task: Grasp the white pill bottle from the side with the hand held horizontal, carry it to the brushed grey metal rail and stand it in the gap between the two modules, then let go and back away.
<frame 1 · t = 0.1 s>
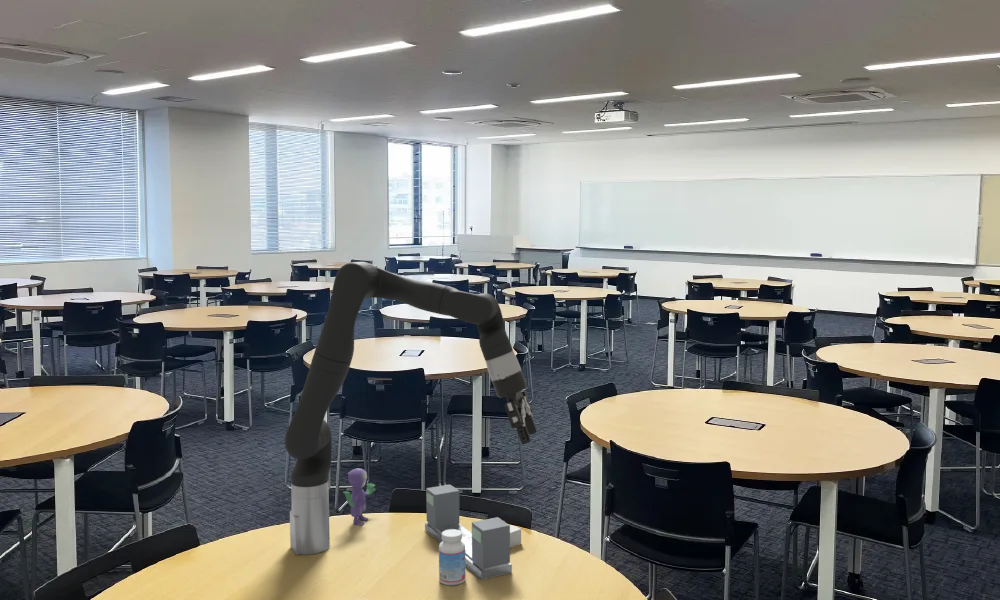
hand: (529, 438, 175), 31 cm above the table, tool tilted 20°, fingers open, 8 cm apart
toy: (357, 522, 207), on the table
rail: (465, 549, 187), on the table
modules: (464, 523, 187), on the rail, point 7 cm above the table
pill bottle: (452, 581, 170), on the table
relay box: (507, 545, 191), on the table
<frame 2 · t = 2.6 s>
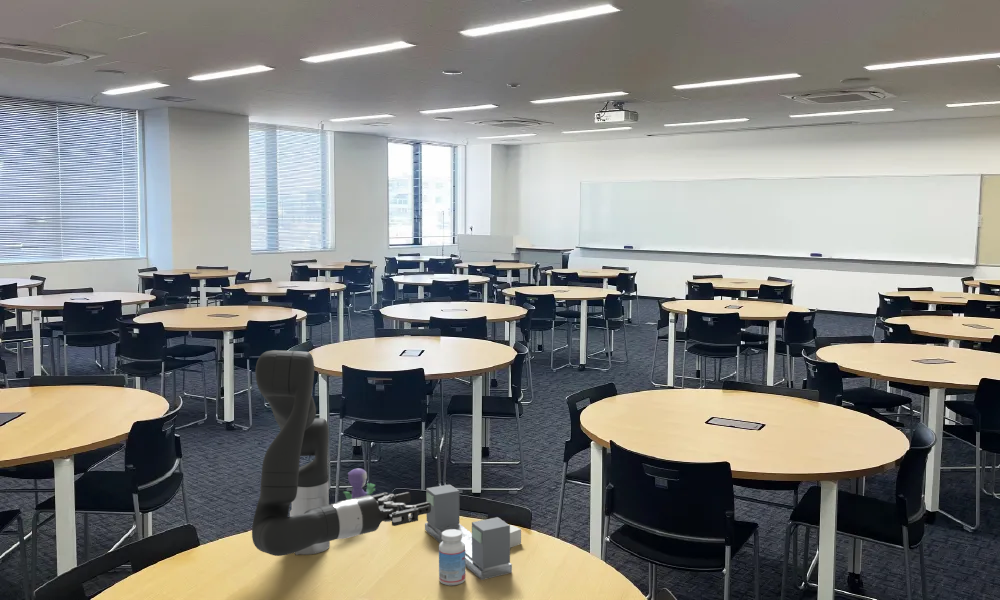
hand: (419, 501, 163), 20 cm above the table, tool horizontal, fingers open, 8 cm apart
nothing on the table moved.
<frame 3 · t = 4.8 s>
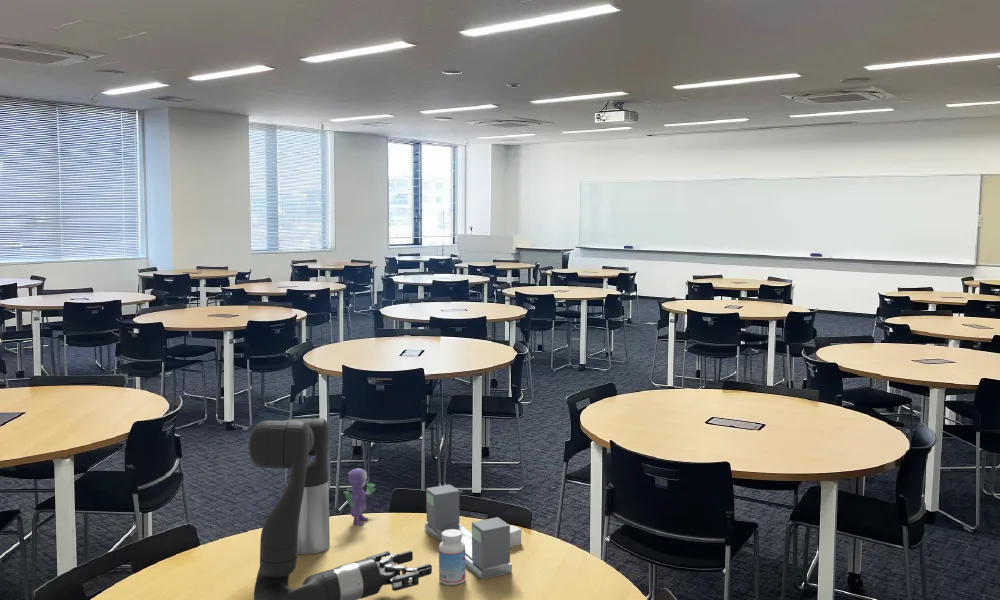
hand: (421, 561, 165), 7 cm above the table, tool horizontal, fingers open, 8 cm apart
nothing on the table moved.
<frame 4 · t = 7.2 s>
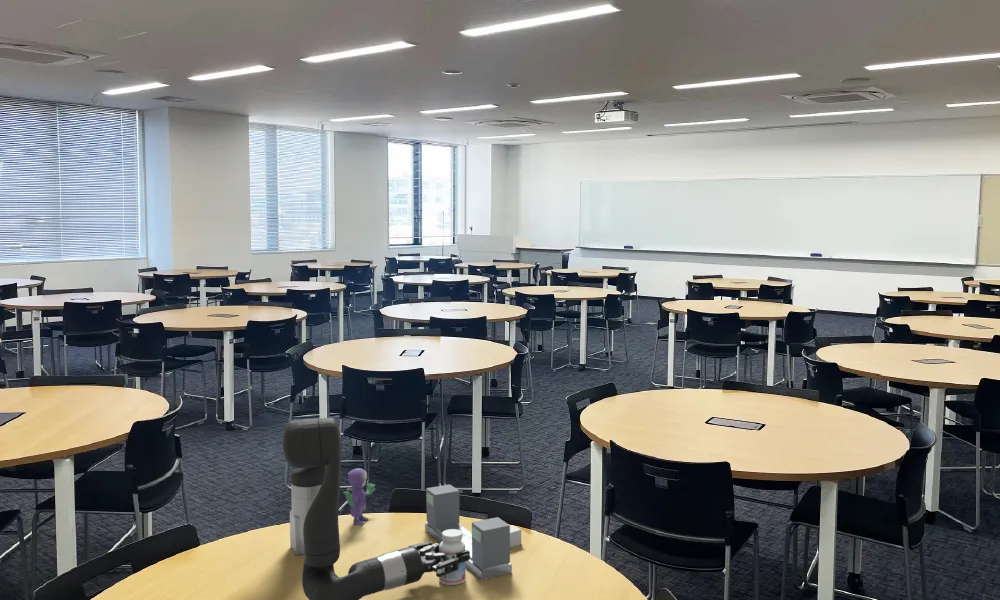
hand: (460, 550, 171), 7 cm above the table, tool horizontal, fingers closed on pill bottle, 6 cm apart
pill bottle: (452, 581, 170), on the table, touching gripper
everything else where it was.
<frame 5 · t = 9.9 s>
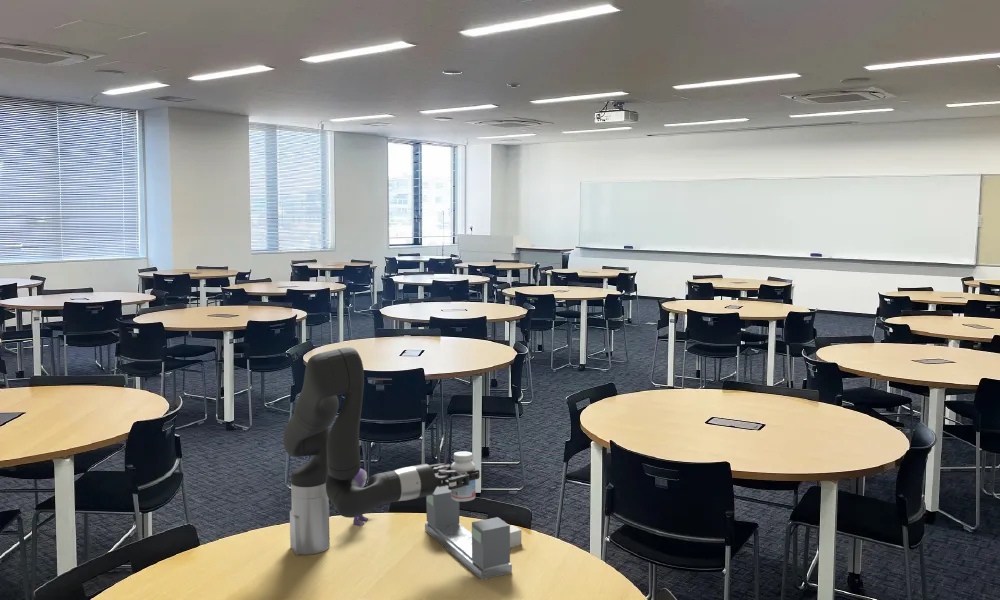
hand: (471, 470, 184), 21 cm above the table, tool horizontal, fingers closed on pill bottle, 6 cm apart
pill bottle: (463, 499, 183), point 14 cm above the table, touching gripper
everything else where it was.
when the fingers open (10 cm above the table, at t = 12.7 s): pill bottle drops 1 cm, resting on rail.
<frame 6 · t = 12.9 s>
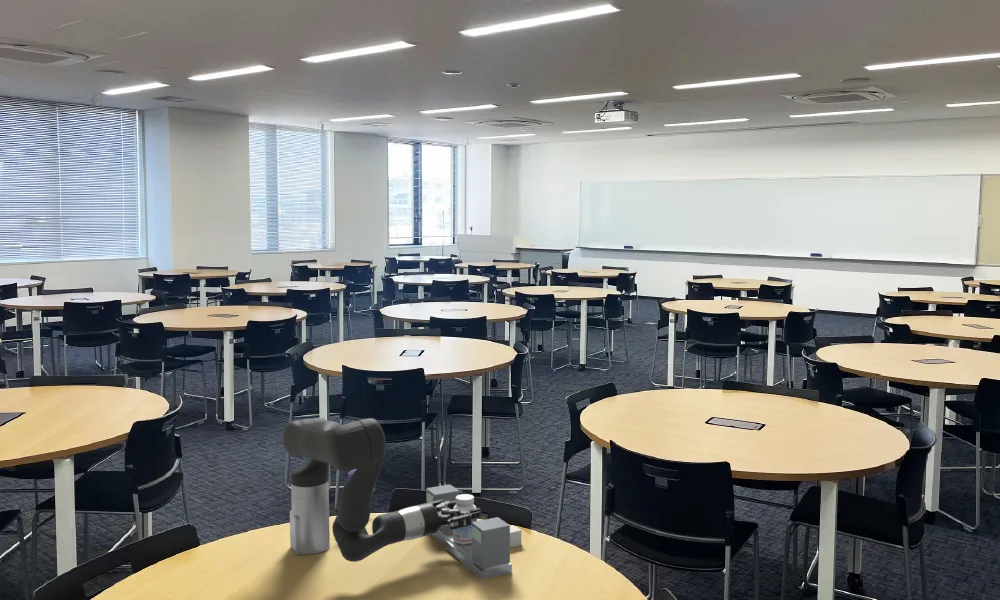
hand: (471, 507, 188), 10 cm above the table, tool horizontal, fingers open, 7 cm apart
pill bottle: (465, 541, 187), point 2 cm above the table, touching rail
everything else where it was.
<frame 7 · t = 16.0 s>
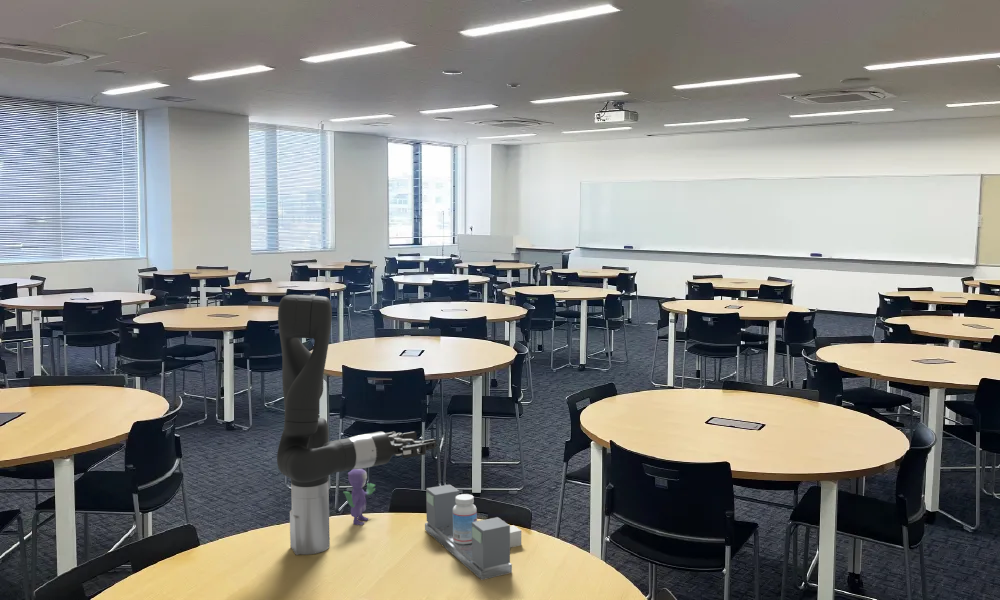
hand: (425, 439, 179), 30 cm above the table, tool horizontal, fingers open, 8 cm apart
nothing on the table moved.
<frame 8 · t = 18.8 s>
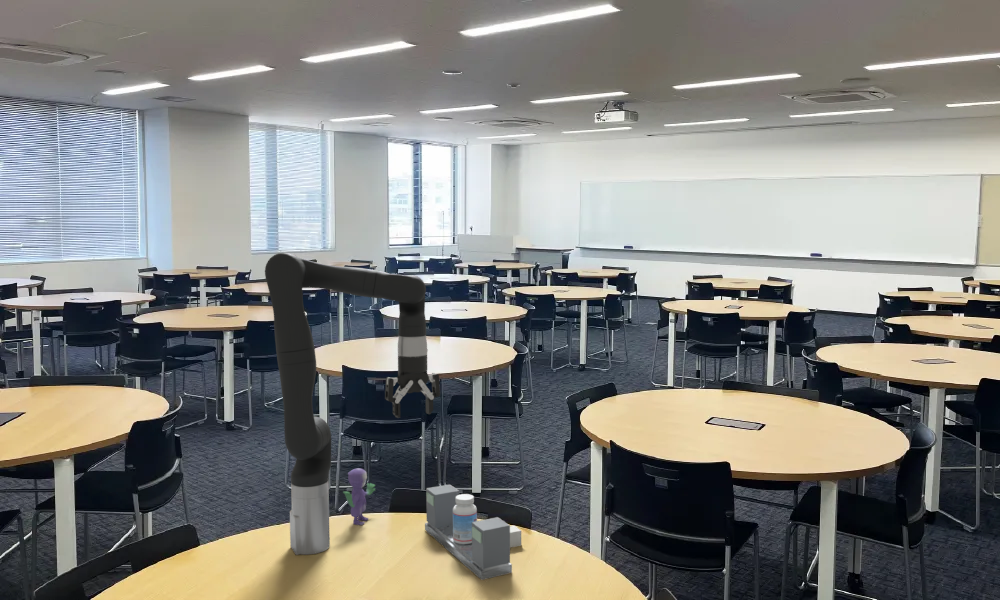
hand: (413, 415, 191), 33 cm above the table, tool pointing down, fingers open, 8 cm apart
nothing on the table moved.
at the end: pill bottle inside the target area (0.1 cm from its centre), point 2.3 cm above the table; pill bottle tilted 0°; the gripper is holding nothing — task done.
